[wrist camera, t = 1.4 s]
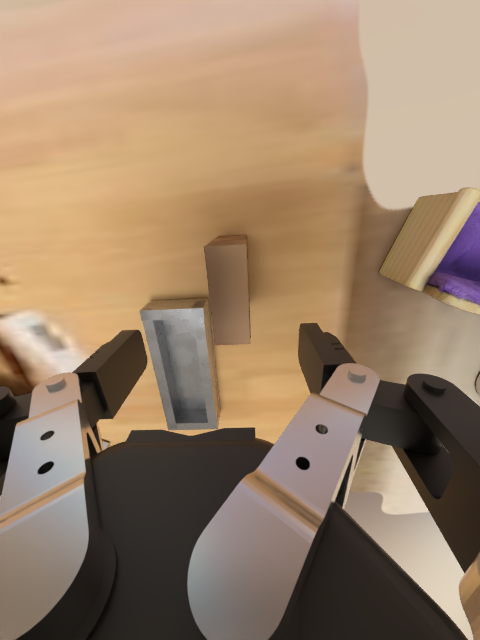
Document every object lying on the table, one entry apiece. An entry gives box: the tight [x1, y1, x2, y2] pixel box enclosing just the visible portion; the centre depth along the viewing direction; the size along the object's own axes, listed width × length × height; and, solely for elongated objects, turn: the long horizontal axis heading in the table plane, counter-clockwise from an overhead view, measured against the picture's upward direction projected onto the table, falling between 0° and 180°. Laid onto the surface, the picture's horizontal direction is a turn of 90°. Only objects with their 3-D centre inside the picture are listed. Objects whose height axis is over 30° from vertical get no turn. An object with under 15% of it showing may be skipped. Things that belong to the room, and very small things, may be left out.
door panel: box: [204, 235, 251, 345], centre depth 23 cm, size 3×8×10 cm, turn 3°
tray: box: [140, 298, 220, 430], centre depth 31 cm, size 7×18×4 cm, turn 3°
